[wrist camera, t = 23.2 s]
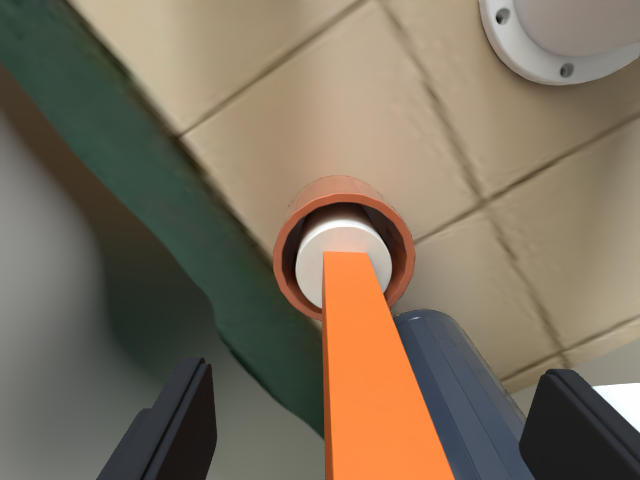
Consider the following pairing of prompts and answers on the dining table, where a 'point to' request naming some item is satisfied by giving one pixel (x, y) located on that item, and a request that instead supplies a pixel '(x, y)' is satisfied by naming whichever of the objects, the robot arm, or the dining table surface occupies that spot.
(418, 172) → the dining table surface
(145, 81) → the dining table surface
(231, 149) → the dining table surface
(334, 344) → the brush
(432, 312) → the dark blue cylindrical vase
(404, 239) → the brush holder
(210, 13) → the dining table surface
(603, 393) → the milk
